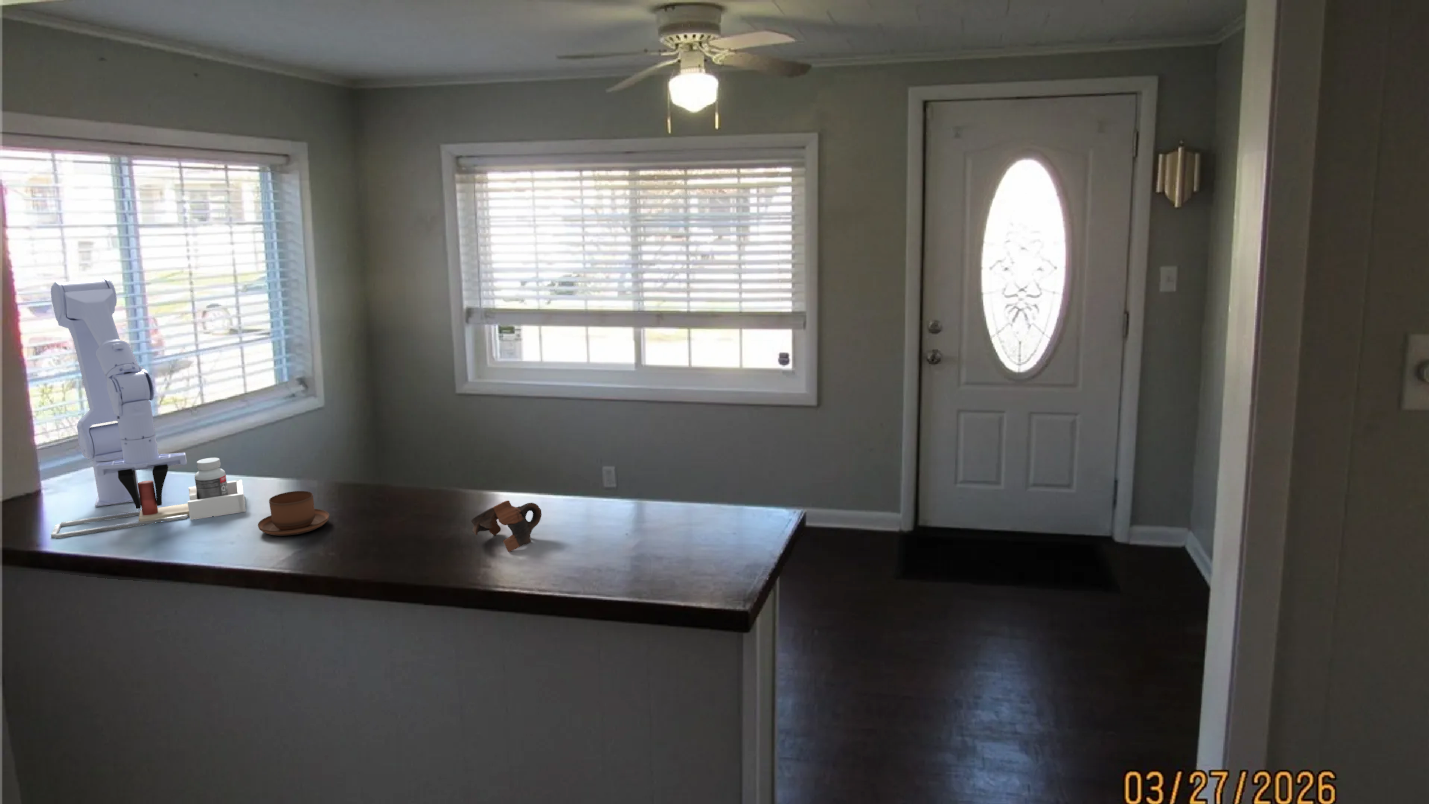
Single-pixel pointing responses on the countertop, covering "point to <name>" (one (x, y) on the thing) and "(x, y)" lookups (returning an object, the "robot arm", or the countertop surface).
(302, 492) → the cup and saucer
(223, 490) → the pill bottle
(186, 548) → the countertop surface
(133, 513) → the track
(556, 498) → the countertop surface
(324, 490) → the countertop surface
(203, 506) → the frame
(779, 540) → the countertop surface
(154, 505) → the red peg in tray
